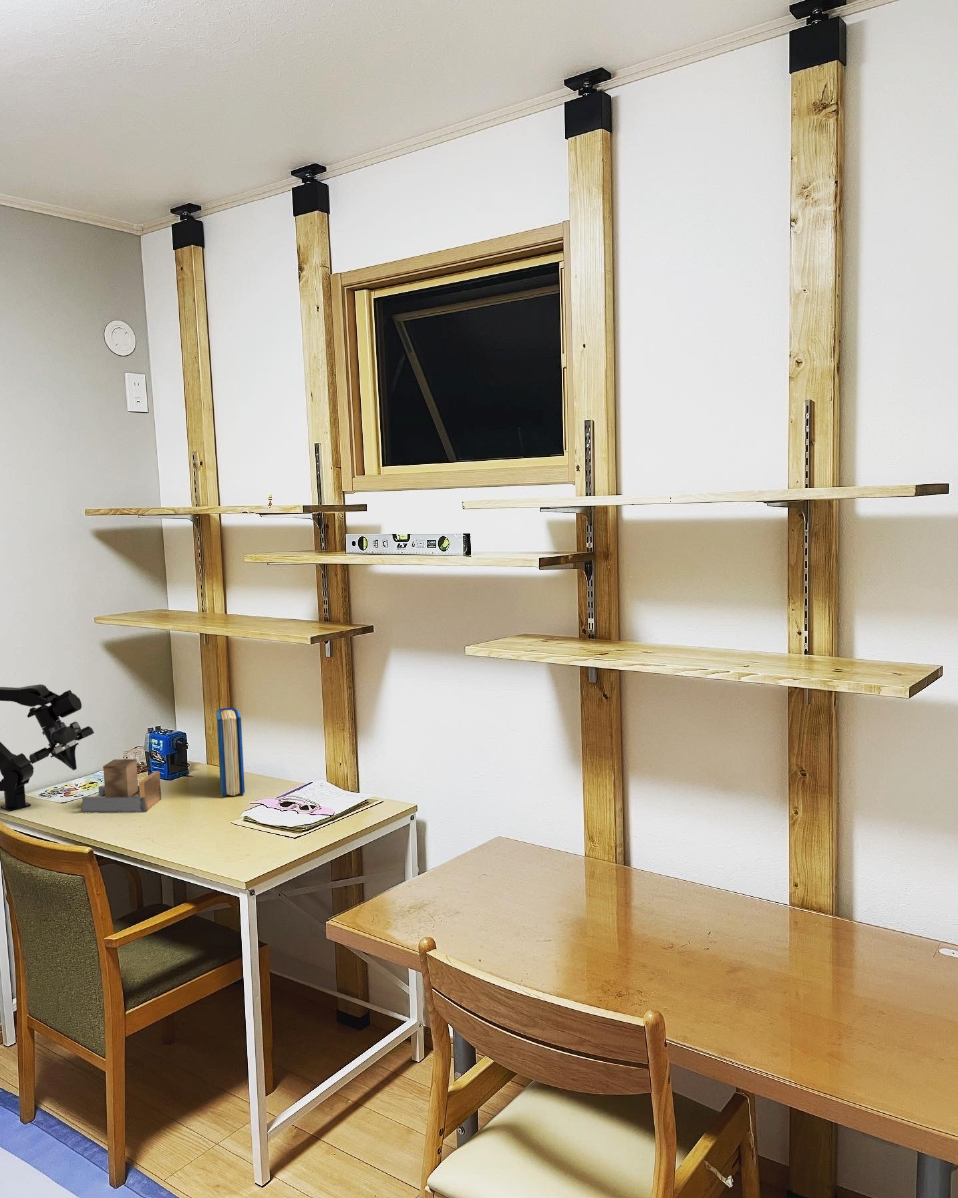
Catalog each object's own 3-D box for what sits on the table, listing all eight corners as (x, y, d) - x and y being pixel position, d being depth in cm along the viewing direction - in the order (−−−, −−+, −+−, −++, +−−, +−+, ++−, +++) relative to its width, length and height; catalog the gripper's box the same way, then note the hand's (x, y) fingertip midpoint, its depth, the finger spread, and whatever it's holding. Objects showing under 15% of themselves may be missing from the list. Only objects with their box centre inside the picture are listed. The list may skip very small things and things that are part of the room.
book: (219, 779, 316) (215, 705, 313) (241, 777, 318) (237, 703, 315) (221, 798, 295) (217, 719, 293) (245, 796, 297) (241, 717, 295)
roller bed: (83, 812, 285) (81, 783, 284) (101, 800, 296) (99, 771, 296) (145, 812, 284) (144, 782, 283) (161, 799, 295) (159, 771, 295)
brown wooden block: (105, 798, 287) (103, 766, 286) (115, 791, 295) (113, 759, 294) (128, 798, 287) (126, 766, 286) (138, 791, 294) (136, 759, 293)
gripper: (31, 733, 276) (56, 780, 277) (89, 705, 290) (112, 751, 291) (18, 739, 284) (42, 786, 285) (75, 712, 297) (98, 757, 298)
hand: (75, 769), depth 290 cm, fingers closed
